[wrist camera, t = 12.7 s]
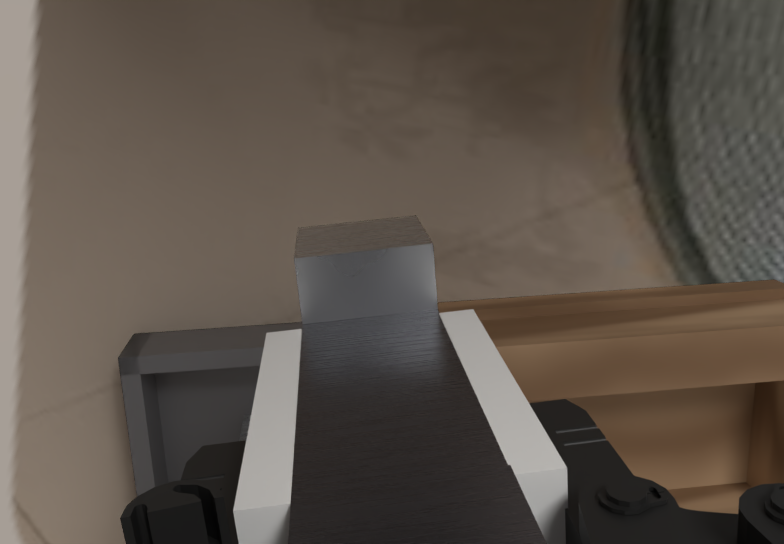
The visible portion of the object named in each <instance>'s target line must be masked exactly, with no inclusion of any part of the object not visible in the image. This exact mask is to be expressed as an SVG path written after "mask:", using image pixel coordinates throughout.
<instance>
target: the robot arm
mask: <svg viewBox="0 0 784 544" xmlns="http://www.w3.org/2000/svg"><path fill="white" fill-rule="evenodd" d="M439 315H440V318H441V320H442V322H443V324H444V326H445V329H446V331H447V333H448V335H449V337H450V339H451V342H452V344H453V346H454V348H455V350H456V353H457V355H458V357H459V359H460V361H461V364H462V366H463V368H464V370H465V372H466V374H467V377H468V379H469V381H470V383H471V385H472V388H473V390H474V392H475V394H476V396H477V398H478V401H479V403H480V405H481V407H482V409H483V412H484V414H485V416H486V418H487V420H488V422H489V425H490V427H491V429H492V431H493V433H494V436H495V438H496V440H497V442H498V444H499V447H500V449H501V451H502V453H503V455H504V457H505V460H506V462H507V464H508V465H511V467H512V470H513V472H514V474H515V476H516V478H517V480H518V483H519V485H520V487H521V489H522V491H523V493H524V496H525V498H526V500H527V502H528V504H529V506H530V508H531V511H532V513H533V515H534V517H535V519H536V521H537V524H538V526H539V528H540V530H541V532H542V534H543V536H544V539H545V541H546V543H547V544H784V483H774V484H761V485H758V486H755V487H752V488H750V489H747V490H746V491H745V492H744V493H743V494H742V495H741V496H740V497H739V508H738V514H732V513H718V512H705V511H696V510H689V509H684V508H681V507H679V505H678V504H677V502H676V500H675V498H674V497H673V496H672V495H671V494H670V492H669V491H668V490H667V489H666V488H664V487H663V486H661V485H659V484H657V483H655V482H654V481H652V480H648V479H645V478H641V477H637V476H634V475H633V474H632V472H631V471H630V470H629V468H628V467H627V465H626V464H625V463H624V461H623V460H622V459H621V457H620V456H619V455H618V453H617V452H616V451H615V449H614V448H613V447H612V445H611V444H610V442H609V441H608V440H607V441H606V437H605V436H604V434H603V433H602V432H601V430H600V429H599V428H597V425H596V423H595V422H594V421H593V419H592V418H591V417H590V415H589V414H588V413H587V411H586V410H584V409H582V408H581V407H579V406H577V405H575V404H574V403H572V402H570V401H568V400H566V399H560V400H552V401H544V402H536V403H528V401H527V399H526V397H525V396H524V394H523V392H522V391H521V389H520V387H519V386H518V384H517V382H516V381H515V379H514V377H513V375H512V374H511V372H510V370H509V369H508V367H507V365H506V364H505V362H504V360H503V359H502V357H501V355H500V354H499V352H498V350H497V348H496V347H495V345H494V343H493V342H492V340H491V338H490V337H489V335H488V333H487V332H486V330H485V328H484V327H483V325H482V323H481V321H480V320H479V318H478V316H477V315H476V313H475V311H474V310H473V309H470V310H461V311H453V312H444V313H439ZM301 341H302V329H296V330H287V331H278V332H270V333H266V338H265V343H264V349H263V354H262V359H261V365H260V370H259V375H258V381H257V386H256V391H255V397H254V402H253V408H252V413H251V418H250V424H249V429H248V434H247V440H244V441H236V442H228V443H220V444H212V445H204V446H202V447H201V448H200V449H199V450H198V451H197V452H196V453H195V454H194V455H193V456H192V457H191V458H190V459H189V460H188V461H187V462H186V465H185V468H184V471H183V474H182V477H181V480H179V481H173V482H169V483H166V484H163V485H159V486H156V487H154V488H152V489H150V490H148V491H146V492H144V493H142V494H141V495H139V496H137V497H136V498H135V499H134V500H133V501H132V502H131V503H130V504H128V505H127V506H126V508H125V510H124V512H123V514H122V516H121V518H120V519H121V523H122V528H123V532H124V537H125V541H126V544H288V536H289V521H290V506H291V491H292V476H293V461H294V446H295V431H296V416H297V401H298V386H299V371H300V356H301Z"/></svg>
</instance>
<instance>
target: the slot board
mask: <svg viewBox="0 0 784 544" xmlns="http://www.w3.org/2000/svg"><path fill="white" fill-rule="evenodd" d="M437 304H438V310H439V312H440V313H444V312H453V311H461V310H470V309H473V310H474V311H475V313H476V315H477V316H478V318H479V320H480V321H481V323H482V325H483V327H484V328H485V330H486V332H487V333H488V335H489V337H490V338H491V340H492V342H493V343H494V345H495V347H496V348H497V350H498V352H499V354H500V355H501V357H502V359H503V360H504V362H505V364H506V365H507V367H508V369H509V370H510V372H511V374H512V375H513V377H514V379H515V381H516V382H517V384H518V386H519V387H520V389H521V391H522V392H523V394H524V396H525V397H526V399H527V401H528V403H536V402H544V401H552V400H560V399H566V400H568V401H570V402H572V403H574V404H575V405H577V406H579V407H581V408H582V409H584V410H586V411H587V413H588V414H589V415H590V417H591V418H592V419H593V421H594V422H595V423H596V425H597V428H599V429H600V430H601V432H602V433H603V434H604V436H605V437H606V441H607V440H608V441H609V442H610V444H611V445H612V447H613V448H614V449H615V451H616V452H617V453H618V455H619V456H620V457H621V459H622V460H623V461H624V463H625V464H626V465H627V467H628V468H629V470H630V471H631V472H632V474H633V475H634V476H637V477H641V478H645V479H648V480H652V481H654V482H655V483H657V484H659V485H661V486H663V487H664V488H666V489H667V490H668V491H669V492H670V494H671V495H672V496H673V497H674V498H675V500H676V502H677V504H678V505H679V507H681V508H684V509H689V510H696V511H705V512H718V513H732V514H738V508H739V497H740V496H741V495H742V494H743V493H744V492H745V491H746V490H747V489H750V488H752V487H755V486H758V485H761V484H774V483H784V283H782V282H779V281H777V280H762V281H747V282H733V283H718V284H703V285H689V286H674V287H659V288H645V289H630V290H615V291H601V292H586V293H571V294H557V295H542V296H527V297H513V298H498V299H483V300H469V301H454V302H439V303H437Z"/></svg>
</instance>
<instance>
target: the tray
mask: <svg viewBox="0 0 784 544" xmlns="http://www.w3.org/2000/svg"><path fill="white" fill-rule="evenodd" d="M302 326H303V323H302V322H299V323H284V324H270V325H255V326H241V327H227V328H212V329H198V330H183V331H169V332H155V333H140V334H134V335H133V336H132V338H131V339H130V341H129V342H128V344H127V345H126V347H125V348H124V350H123V351H122V353H121V354H120V356H119V357H118V361H119V368H120V376H121V383H122V390H123V397H124V405H125V412H126V419H127V427H128V434H129V441H130V448H131V456H132V463H133V470H134V477H135V485H136V492H137V496H139V495H141V494H142V493H144V492H146V491H148V490H150V489H152V488H154V487H156V486H159V485H163V484H166V483H169V482H173V481H179V480H181V477H182V474H183V471H184V468H185V465H186V462H187V461H188V460H189V459H190V458H191V457H192V456H193V455H194V454H195V453H196V452H197V451H198V450H199V449H200V448H201V447H202V446H204V445H212V444H220V443H228V442H236V441H239V439H240V434H241V429H242V424H243V419H244V416H246V415H251V413H252V408H253V402H254V397H255V391H256V386H257V381H258V375H259V370H260V365H261V359H262V354H263V349H264V343H265V338H266V333H270V332H278V331H287V330H296V329H302Z"/></svg>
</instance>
